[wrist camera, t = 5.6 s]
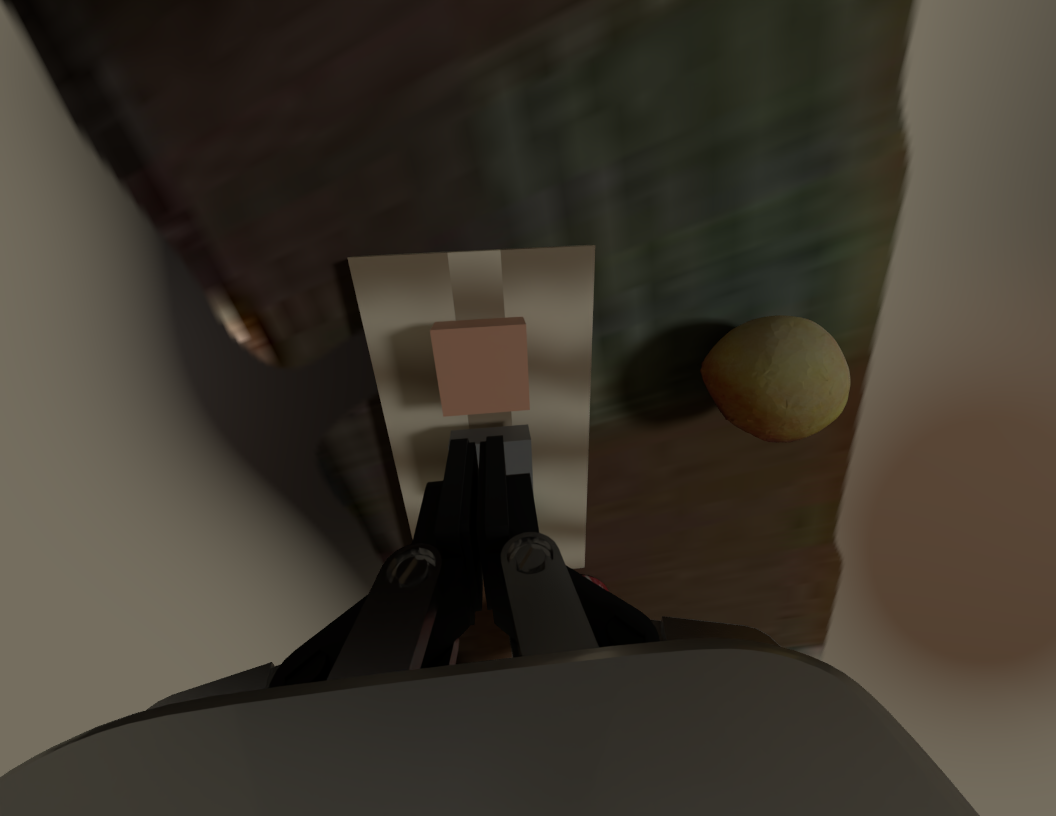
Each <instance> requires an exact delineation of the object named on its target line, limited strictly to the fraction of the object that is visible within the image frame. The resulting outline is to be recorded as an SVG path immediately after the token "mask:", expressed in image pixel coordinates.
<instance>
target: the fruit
mask: <svg viewBox="0 0 1056 816" xmlns="http://www.w3.org/2000/svg"><path fill="white" fill-rule="evenodd" d="M700 372H701V374H702V378H703V381H704V383H705V386H706V388H707V390H708V392H709V394H710V395H711V397H712V399H713V400H714V402H715V404H716V405H717V407H718V409H719V410H720V412H721V413H722V414H723V416H724V417H725V419H726V420H728V421H730V422H731V423H732V424H734V425H735V426H736V427H738V428H740V429H742V430H743V431H745V432H747V433H750V434H752V435H753V436H755V437H757V438H760V439H762V440H764V441H768V442H775V443H776V442H785V443H786V442H793V441H796V440H801V439H803V438H806V437H808V436H810V435H813V434H815V433H818V432H819V431H821V430H822V429H823V428H824V427H826V426H827V425H829V424H830V423H831V422H833V421H834V420H835V419H836V418H837V417H838V416H839V415H840V414H841V412H842V411H843V409H844V407H845V405H846V402H847V399H848V394H849V389H850V374H849V368H848V365H847V362H846V360H845V358H844V355H843V353H842V351H841V349H840V347H839V346H838V344H837V342H836V341H835V340H834V338H833V337H832V336H831V335H830V334H829V333H828V332H827V331H826V330H825V329H823V328H822V327H821V326H819V325H818V324H816V323H815V322H813V321H810V320H808V319H804V318H800V317H793V316H769V317H762V318H758V319H754V320H751V321H748V322H746V323H744V324H742V325H740V326H738V327H736V328H734V329H732V330H731V331H729V332H728V333H727V334H726V335H725V336H724V337H723V338H721V339H720V340H719V341H718V342H717V343H716V344H715V346H714V347H713V348H712V349H711V350H710V352H709V353H708V355H707V356H706V357H705V360H704V361H703V362H702V368H701V370H700Z"/></svg>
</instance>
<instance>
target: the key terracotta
mask: <svg viewBox="0 0 1056 816" xmlns="http://www.w3.org/2000/svg"><path fill="white" fill-rule="evenodd" d="M430 335H431V341H432V347H433V354H434V360H435V367H436V373H437V380H438V386H439V392H440V399H441V405H442V412H443V417H446V416H459V415H471V414H484V413H497V412H510V411H522V410H530V401H529V378H528V355H527V332H526V323H525V320H524V318H523V317H508V318H492V319H475V320H459V321H443V322H435V323H434V324H433V326H432V328H431V329H430Z"/></svg>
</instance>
